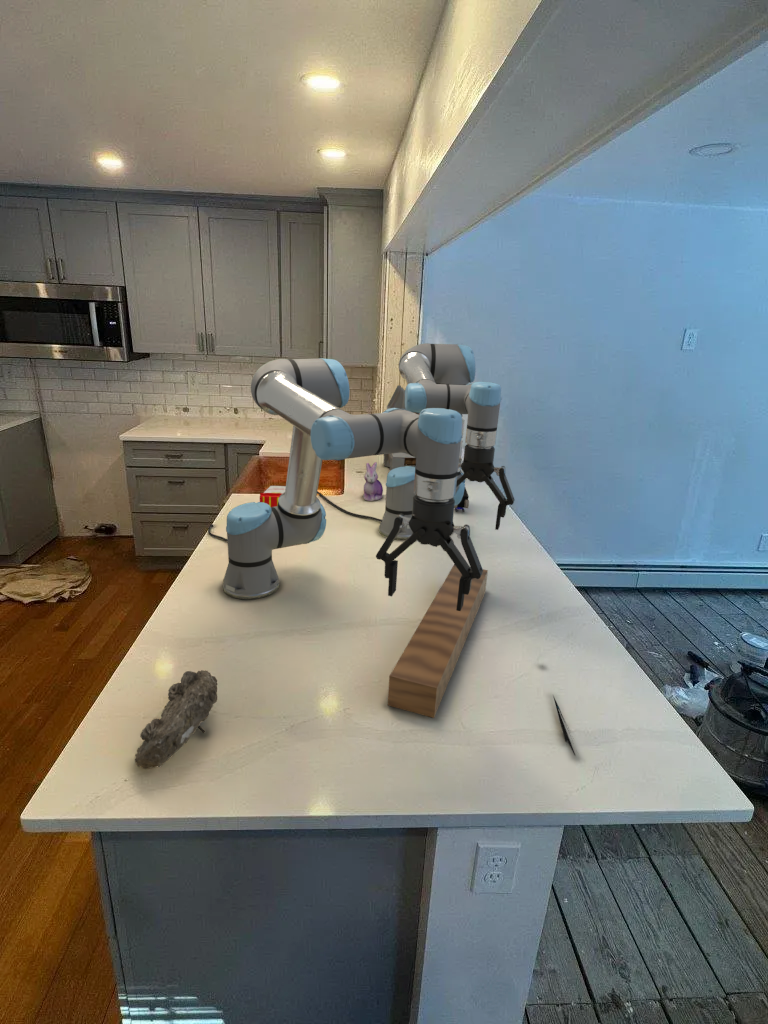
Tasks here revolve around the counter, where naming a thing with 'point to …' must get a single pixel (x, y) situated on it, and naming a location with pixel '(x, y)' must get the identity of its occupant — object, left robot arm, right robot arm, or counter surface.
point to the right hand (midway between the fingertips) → (471, 523)
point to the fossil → (178, 718)
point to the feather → (563, 726)
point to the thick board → (435, 648)
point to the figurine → (372, 484)
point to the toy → (272, 495)
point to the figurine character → (463, 502)
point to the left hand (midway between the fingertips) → (425, 600)
